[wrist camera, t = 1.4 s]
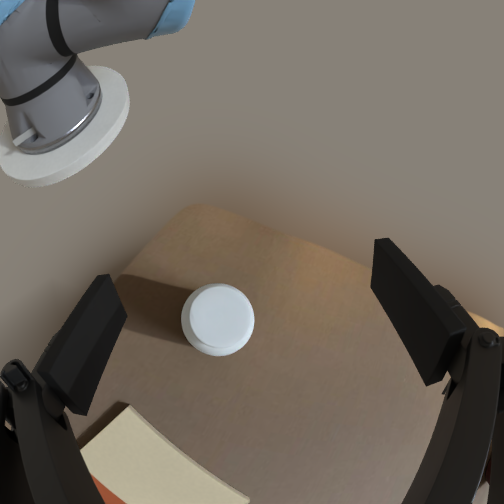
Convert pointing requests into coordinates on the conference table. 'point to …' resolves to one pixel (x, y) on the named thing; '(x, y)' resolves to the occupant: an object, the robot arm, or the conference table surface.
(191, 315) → the supplement bottle
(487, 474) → the vase
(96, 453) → the sorting mat
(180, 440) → the conference table surface
